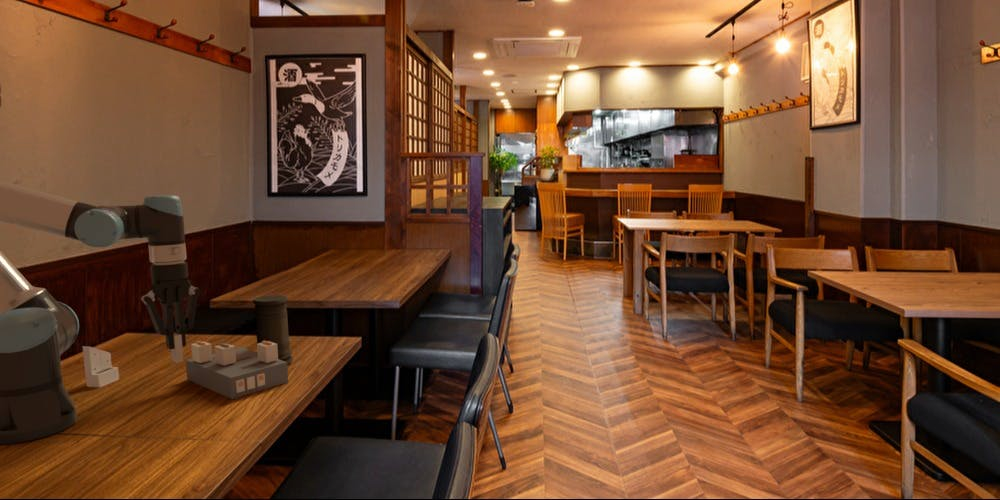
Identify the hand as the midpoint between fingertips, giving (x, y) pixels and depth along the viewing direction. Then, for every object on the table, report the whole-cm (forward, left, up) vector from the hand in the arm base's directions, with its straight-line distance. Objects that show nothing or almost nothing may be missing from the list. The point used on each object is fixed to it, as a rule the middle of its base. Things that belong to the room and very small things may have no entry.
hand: (177, 361), depth 142 cm
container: (+24, -1, -7) cm, 25 cm away
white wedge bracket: (-10, +19, -7) cm, 23 cm away
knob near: (+15, -13, -1) cm, 20 cm away
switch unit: (+11, -6, -7) cm, 14 cm away
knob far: (+6, 0, -1) cm, 6 cm away
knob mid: (+8, -6, -1) cm, 11 cm away
